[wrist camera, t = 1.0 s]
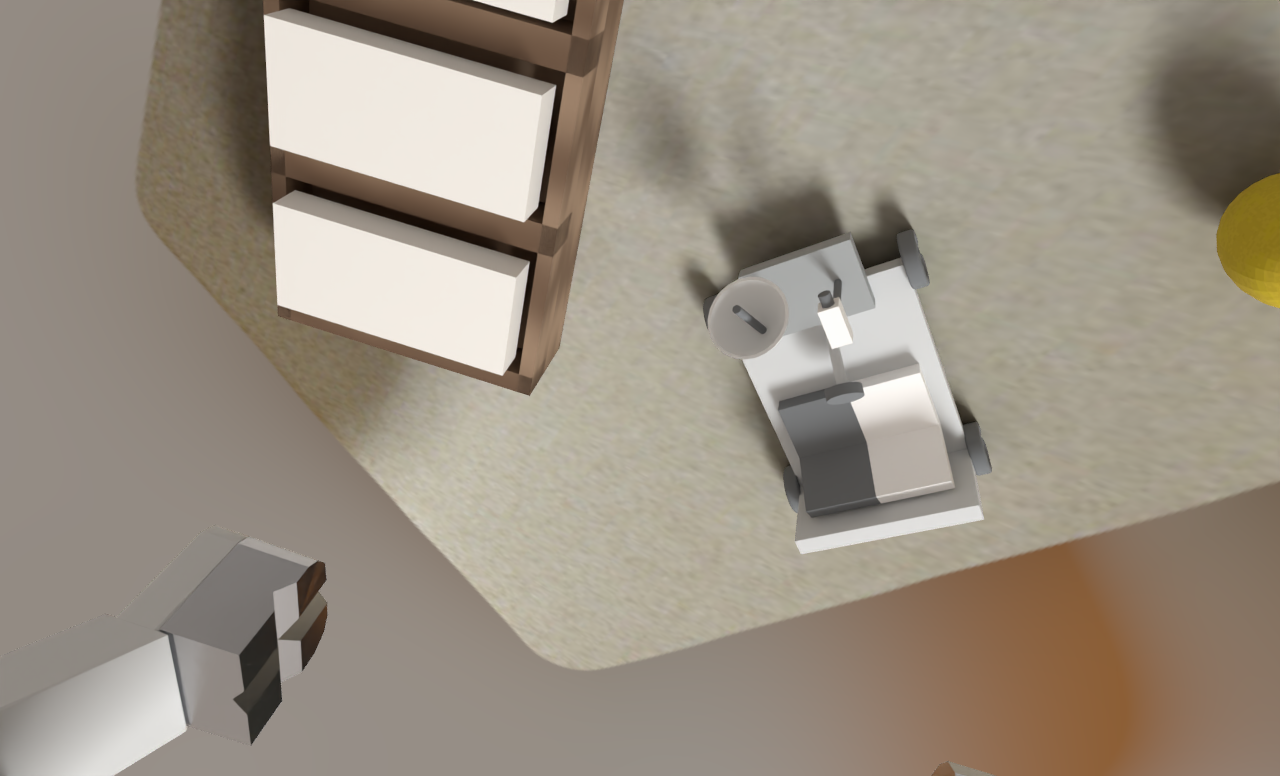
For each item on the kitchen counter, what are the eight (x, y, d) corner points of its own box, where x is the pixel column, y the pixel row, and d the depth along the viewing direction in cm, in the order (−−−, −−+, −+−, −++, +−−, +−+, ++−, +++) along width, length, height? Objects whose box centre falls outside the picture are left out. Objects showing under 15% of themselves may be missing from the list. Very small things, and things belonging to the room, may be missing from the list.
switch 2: (295, 190, 43) (272, 203, 42) (529, 261, 42) (516, 277, 41) (298, 289, 47) (277, 304, 45) (515, 357, 46) (502, 375, 44)
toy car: (652, 331, 38) (903, 248, 34) (688, 249, 46) (896, 173, 42) (790, 605, 45) (1013, 568, 41) (801, 493, 54) (988, 451, 49)
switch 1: (289, 8, 38) (263, 14, 37) (556, 84, 37) (541, 95, 36) (293, 134, 42) (269, 145, 40) (537, 207, 41) (524, 222, 39)
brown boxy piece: (319, -287, 36) (241, -307, 32) (660, -198, 35) (630, -206, 31) (324, 274, 52) (273, 314, 48) (559, 348, 51) (529, 395, 47)
